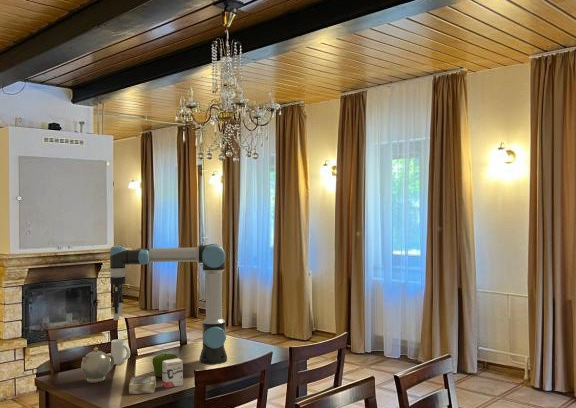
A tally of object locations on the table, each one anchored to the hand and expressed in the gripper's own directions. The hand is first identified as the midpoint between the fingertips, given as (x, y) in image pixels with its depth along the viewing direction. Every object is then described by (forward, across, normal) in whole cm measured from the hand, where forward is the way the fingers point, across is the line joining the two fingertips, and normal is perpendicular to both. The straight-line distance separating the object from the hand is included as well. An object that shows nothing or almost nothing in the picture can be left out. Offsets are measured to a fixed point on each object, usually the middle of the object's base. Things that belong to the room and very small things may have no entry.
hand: (118, 317), depth 295 cm
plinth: (+28, +33, +15) cm, 45 cm away
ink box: (+28, +30, +28) cm, 50 cm away
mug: (+28, -20, -1) cm, 35 cm away
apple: (+28, +13, +24) cm, 39 cm away
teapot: (+28, +13, -8) cm, 32 cm away
